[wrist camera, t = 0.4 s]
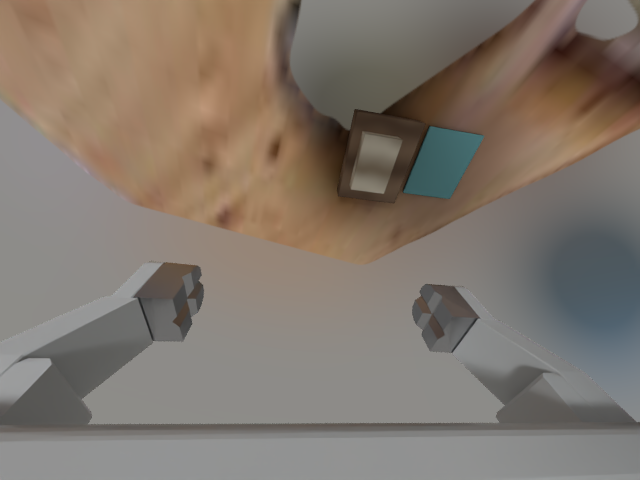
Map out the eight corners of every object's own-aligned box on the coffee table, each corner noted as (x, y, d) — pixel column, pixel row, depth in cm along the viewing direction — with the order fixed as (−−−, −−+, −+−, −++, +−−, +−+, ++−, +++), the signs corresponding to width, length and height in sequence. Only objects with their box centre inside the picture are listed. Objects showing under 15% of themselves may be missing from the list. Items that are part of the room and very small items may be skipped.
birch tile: (362, 131, 36) (365, 134, 34) (398, 137, 36) (402, 140, 35) (349, 184, 41) (350, 189, 39) (380, 188, 42) (383, 193, 40)
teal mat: (429, 126, 38) (430, 126, 37) (482, 135, 39) (484, 136, 39) (402, 191, 45) (403, 192, 45) (448, 198, 46) (449, 199, 46)
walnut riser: (354, 109, 36) (357, 111, 34) (419, 120, 37) (425, 123, 35) (337, 190, 44) (338, 196, 42) (390, 197, 46) (394, 203, 44)
